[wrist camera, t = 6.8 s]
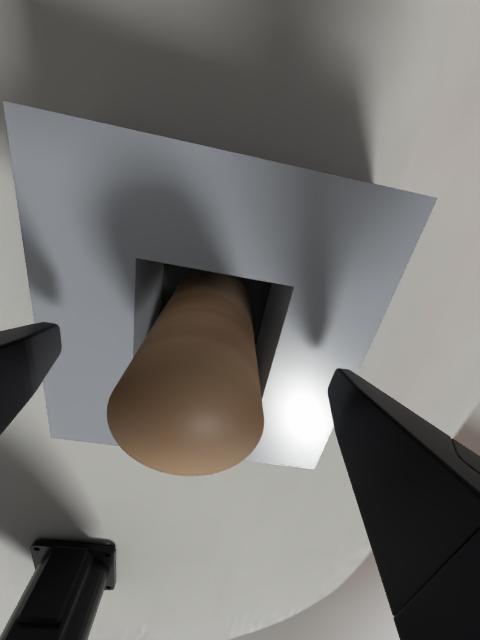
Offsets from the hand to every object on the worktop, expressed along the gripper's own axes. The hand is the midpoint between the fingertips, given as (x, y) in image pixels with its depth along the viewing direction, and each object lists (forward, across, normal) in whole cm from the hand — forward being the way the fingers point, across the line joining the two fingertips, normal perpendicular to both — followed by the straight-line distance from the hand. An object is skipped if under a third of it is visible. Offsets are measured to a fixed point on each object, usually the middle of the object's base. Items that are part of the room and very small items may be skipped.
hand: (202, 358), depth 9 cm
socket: (+5, 0, 0) cm, 5 cm away
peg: (+5, 0, 0) cm, 5 cm away
